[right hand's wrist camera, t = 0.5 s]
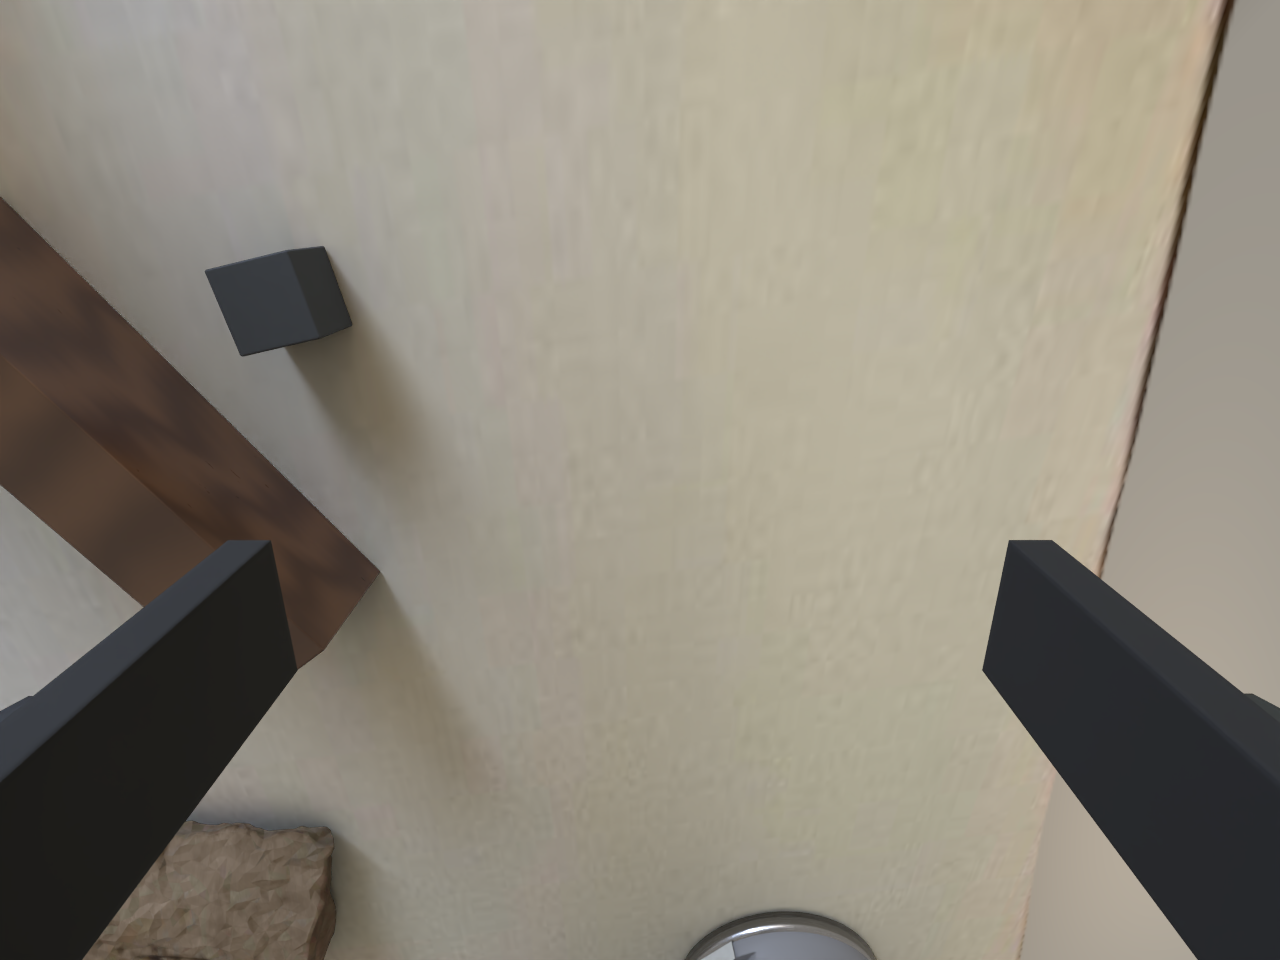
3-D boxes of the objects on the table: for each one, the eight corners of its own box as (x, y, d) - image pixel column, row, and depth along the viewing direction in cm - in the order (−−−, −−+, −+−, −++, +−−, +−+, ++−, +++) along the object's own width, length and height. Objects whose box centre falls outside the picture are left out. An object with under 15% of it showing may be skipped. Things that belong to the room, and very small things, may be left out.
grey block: (353, 325, 37) (320, 338, 33) (280, 342, 37) (240, 357, 33) (324, 245, 35) (286, 250, 31) (249, 264, 35) (203, 270, 32)
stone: (11, 979, 49) (-54, 1062, 43) (17, 781, 47) (-51, 840, 41) (334, 967, 54) (315, 1041, 48) (351, 786, 52) (333, 840, 46)
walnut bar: (380, 571, 42) (324, 650, 34) (321, 616, 43) (254, 702, 35) (-3, 193, 34) (-182, 188, 27) (-62, 259, 35) (-250, 272, 28)
